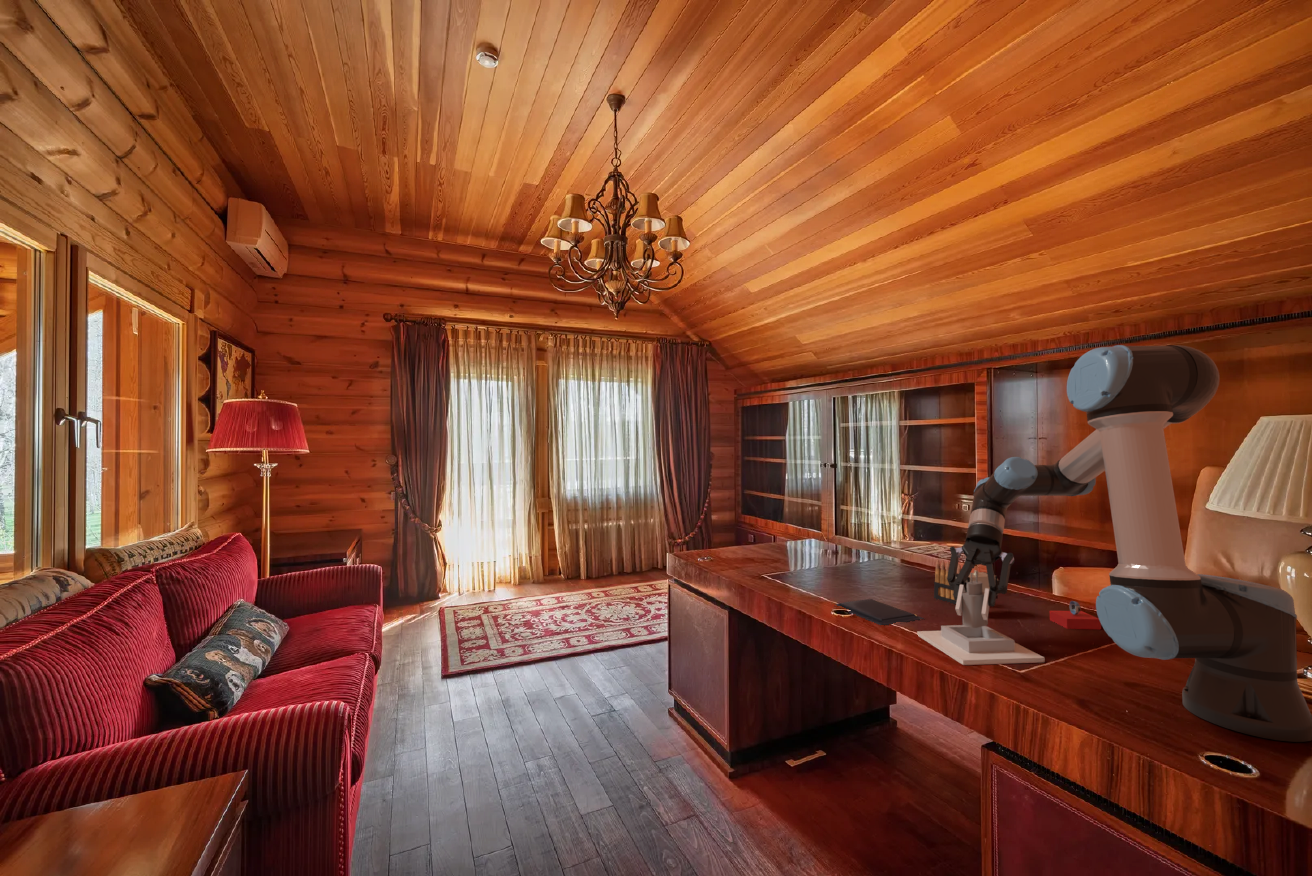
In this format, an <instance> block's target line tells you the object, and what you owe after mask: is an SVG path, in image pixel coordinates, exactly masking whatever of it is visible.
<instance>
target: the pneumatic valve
mask: <svg viewBox="0 0 1312 876" xmlns="http://www.w3.org/2000/svg"><path fill="white" fill-rule="evenodd" d="M976 572H977V576H978V581H980V582H982V592H985V588H988V589H990V587H989V581H988V575H987V571H981V572H980V571H978V570H976V569H975V570H973V572H971V573H972V580H973V581H976ZM971 573H970V575H969V577H968V579H967V580H966V582H965V584H964V588H965V591H966V592H967V582H971ZM958 575H959V573H956V578H957V576H958ZM994 577H995V583H996V585H999V582H1000V578H998V575H995V574H994ZM952 589H953V591H954V586H952ZM998 595H999V594H997V595H996V600H998V599H999V598H998Z"/></svg>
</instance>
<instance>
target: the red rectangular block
mask: <svg viewBox="0 0 1312 876" xmlns="http://www.w3.org/2000/svg"><path fill="white" fill-rule="evenodd" d="M1049 621H1050V622H1053V623H1054V622H1055V623H1054V624H1056V623H1057V625H1058V626H1060V627H1062V626H1063V628H1064V629H1066V630H1100V631H1101V630H1102V625H1101V623H1100V620H1099V618H1098V617H1096V616H1094V615H1092V614H1089V613H1087V612H1084V611H1082V610H1081V605H1080V603H1079V602H1078V601H1073V600H1071V601H1070V602H1069V610H1049Z"/></svg>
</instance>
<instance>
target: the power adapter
mask: <svg viewBox="0 0 1312 876" xmlns="http://www.w3.org/2000/svg"><path fill="white" fill-rule="evenodd" d="M972 573H973V572H971V582H967V592H964V593H962V614H961V616H962V625H965V626H968V627H971V628H978V627H982V626H988V625H989V621H988V619H989V618H988V619H987V620H983V617H982V614H981V612H982V606H983V600H984V593H985V592H982V582H980V581H978V576H977V572H976V581H973V580H972Z"/></svg>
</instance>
